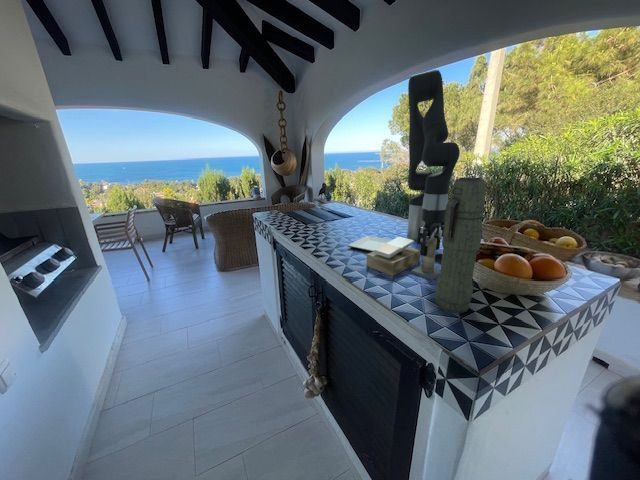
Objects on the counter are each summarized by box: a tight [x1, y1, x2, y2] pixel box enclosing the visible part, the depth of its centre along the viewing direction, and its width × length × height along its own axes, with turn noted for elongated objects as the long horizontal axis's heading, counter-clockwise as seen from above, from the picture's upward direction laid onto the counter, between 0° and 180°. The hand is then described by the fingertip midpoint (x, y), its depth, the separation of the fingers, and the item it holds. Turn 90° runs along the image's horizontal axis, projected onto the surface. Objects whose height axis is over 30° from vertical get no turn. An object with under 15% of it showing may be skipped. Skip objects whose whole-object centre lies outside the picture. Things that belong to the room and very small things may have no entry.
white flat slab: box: [374, 236, 415, 258], centre depth 98 cm, size 16×7×1 cm, turn 130°
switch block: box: [366, 246, 421, 277], centre depth 100 cm, size 18×12×6 cm, turn 130°
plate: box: [347, 235, 393, 253], centre depth 120 cm, size 19×19×2 cm
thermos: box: [434, 177, 487, 314], centre depth 67 cm, size 9×12×35 cm
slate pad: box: [410, 264, 441, 281], centre depth 92 cm, size 8×8×1 cm
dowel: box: [421, 237, 437, 273], centre depth 90 cm, size 4×4×12 cm
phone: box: [434, 253, 443, 265], centre depth 100 cm, size 8×1×15 cm
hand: (429, 252), depth 90 cm, fingers open, 8 cm apart
